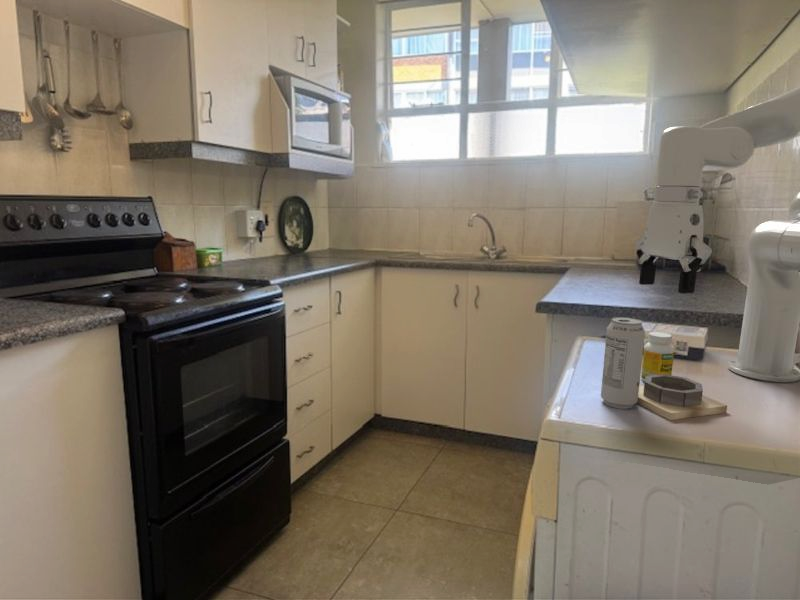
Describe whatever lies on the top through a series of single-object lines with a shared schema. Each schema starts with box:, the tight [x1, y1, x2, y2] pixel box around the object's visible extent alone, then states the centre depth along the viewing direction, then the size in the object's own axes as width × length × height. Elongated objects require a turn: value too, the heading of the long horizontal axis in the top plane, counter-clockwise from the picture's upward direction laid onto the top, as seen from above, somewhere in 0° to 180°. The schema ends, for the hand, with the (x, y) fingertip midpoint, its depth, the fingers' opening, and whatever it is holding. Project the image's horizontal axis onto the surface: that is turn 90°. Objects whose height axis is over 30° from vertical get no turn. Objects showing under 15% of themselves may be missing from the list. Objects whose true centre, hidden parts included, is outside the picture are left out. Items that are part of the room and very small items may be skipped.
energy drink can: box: [600, 316, 646, 410], centre depth 94 cm, size 6×6×15 cm
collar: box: [636, 374, 728, 421], centre depth 96 cm, size 12×12×4 cm
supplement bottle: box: [640, 331, 675, 383], centre depth 106 cm, size 5×5×10 cm
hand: (665, 288), depth 103 cm, fingers open, 9 cm apart
